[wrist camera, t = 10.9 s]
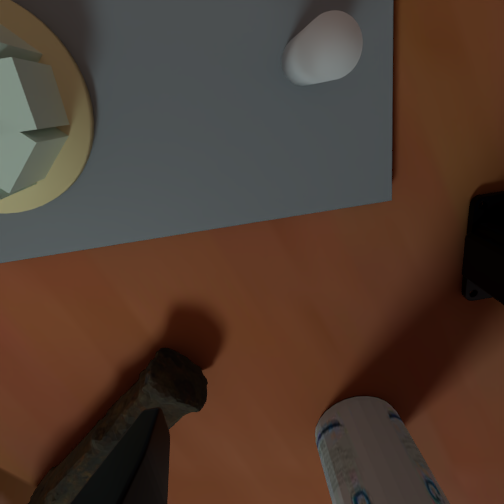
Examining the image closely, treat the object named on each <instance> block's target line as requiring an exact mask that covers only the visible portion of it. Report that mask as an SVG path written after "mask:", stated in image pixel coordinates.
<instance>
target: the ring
mask: <svg viewBox="0 0 504 504" xmlns="http://www.w3.org/2000/svg"><path fill="white" fill-rule="evenodd" d="M41 56H42V53H40V52H39V51H38V50H36V49H35V48H34V47H32V46H31V45H29V44H28V43H27V42H25V41H24V40H22V39H21V38H20V37H18V36H17V35H15V34H14V33H13V32H11V31H10V30H8V29H7V28H6V27H4V26H3V25H2V24H0V200H1V199H3V198H5V197H8V196H10V195H12V194H15V193H17V192H19V191H21V190H24V189H26V188H28V187H31V186H33V185H35V184H37V183H36V182H38V181H40V180H42V179H45V177H46V175H47V174H48V172H49V170H50V168H51V167H52V165H53V163H54V161H55V159H56V158H57V156H58V154H59V152H60V151H61V149H62V147H63V145H64V143H65V142H66V140H67V138H68V135H67V134H65V133H64V132H62V131H61V130H59V129H58V128H56V127H57V126H64V125H70V124H69V121H68V118H67V115H66V112H65V108H64V105H63V102H62V99H61V96H60V93H59V89H58V86H57V83H56V80H55V77H54V74H53V70H52V67H51V65H46V64H42V63H38V62H39V60H40V58H41Z"/></svg>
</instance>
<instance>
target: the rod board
mask: <svg viewBox="0 0 504 504" xmlns="http://www.w3.org/2000/svg"><path fill="white" fill-rule="evenodd" d="M0 24H2V25H3V26H4V27H6V28H7V29H8V30H10V31H11V32H13V33H14V34H15V35H17V36H18V37H20V38H21V39H22V40H24V41H25V42H27V43H28V44H29V45H31V46H32V47H34V48H35V49H36V50H38V51H39V52H40V53H42V56H41V58H40V60H39V62H38V63H42V64H46V65H51V67H52V70H53V74H54V77H55V80H56V83H57V86H58V89H59V93H60V96H61V99H62V102H63V105H64V108H65V112H66V115H67V118H68V121H69V124H70V125H64V126H57V127H56V128H58V129H59V130H61V131H62V132H64V133H65V134H67V135H68V138H67V140H66V142H65V143H64V145H63V147H62V149H61V151H60V152H59V154H58V156H57V158H56V159H55V161H54V163H53V165H52V167H51V168H50V170H49V172H48V174H47V175H46V177H45V179H42V180H40V181H38V182H36V183H37V184H35V185H33V186H31V187H28V188H26V189H24V190H21V191H19V192H17V193H15V194H12V195H10V196H8V197H5V198H3V199H1V200H0V263H4V262H10V261H16V260H22V259H29V258H35V257H41V256H47V255H54V254H60V253H66V252H72V251H79V250H85V249H91V248H97V247H104V246H110V245H116V244H122V243H128V242H135V241H141V240H147V239H153V238H160V237H166V236H172V235H178V234H185V233H191V232H197V231H203V230H210V229H216V228H222V227H228V226H234V225H241V224H247V223H253V222H259V221H266V220H272V219H278V218H284V217H291V216H297V215H303V214H309V213H316V212H322V211H328V210H334V209H341V208H347V207H353V206H359V205H365V204H372V203H378V202H384V201H390V200H392V101H393V0H0Z"/></svg>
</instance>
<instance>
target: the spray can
mask: <svg viewBox="0 0 504 504" xmlns="http://www.w3.org/2000/svg"><path fill="white" fill-rule="evenodd" d="M315 436H316V444H317V448H318V451H319V455H320V459H321V463H322V466H323V470H324V474H325V477H326V481H327V485H328V489H329V492H330V496H331V500H332V503H333V504H450V503H449V501H448V500H447V498H446V496H445V495H444V493H443V491H442V489H441V488H440V486H439V484H438V482H437V481H436V479H435V477H434V475H433V474H432V472H431V470H430V469H429V467H428V465H427V463H426V462H425V460H424V458H423V456H422V455H421V453H420V451H419V449H418V448H417V446H416V444H415V443H414V441H413V439H412V437H411V436H410V434H409V432H408V430H407V429H406V427H405V425H404V423H403V422H402V420H401V418H400V416H399V415H398V413H397V411H396V410H394V408H393V407H392V406H391V405H390V404H389V403H387V402H386V401H384V400H382V399H379V398H376V397H370V396H359V397H353V398H349V399H345V400H343V401H341V402H339V403H337V404H335V405H333V406H332V407H331V408H329V409H328V410H327V411H326V412H325V413H324V414H323V415H322V417H321V418H320V419H319V422H318V424H317V426H316V433H315Z"/></svg>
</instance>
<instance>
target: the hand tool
mask: <svg viewBox="0 0 504 504" xmlns="http://www.w3.org/2000/svg"><path fill="white" fill-rule="evenodd" d="M207 384H208V382H207V379H206V378H205V376H204V375H203V373H202V370H201V368H200V367H199V366H197V365H195V364H194V363H193V362H191V361H190V360H189V359H188V358H187V357H185V356H183V355H182V354H180V353H178V352H176V351H174V350H171V349H169V348H161V349H160V350H159V351H158V352H156V355H155V359H153V360H151V361H150V363H149V365H148V366H147V368H146V369H145V370H143V371H142V372H141V373H140V377H139V380H138V381H137V382H136V383H135V384H134V385H133V386H132V387H131V388H130V389H129V390H128V391H127V392H126V393H125V394H124V395H122V396H121V397H120V399H119V400H118V401H117V402H116V403H114V405H113V406H112V407H111V408H110V410H109V411H108V412H107V413H106V414H107V415H106V416H105V417H104V418H103V419H102V420H99V421H98V423H97V424H96V426H94V428H93V429H92V430H91V431H90V432H89V433H88V434H87V436H86V437H85V438H84V439H83V440H82V441H81V442H80V443H79V444H78V445H77V446H76V447H75V448H74V450H73V451H72V452H71V453H70V454H69V455H68V456H67V457H66V458H65V459H64V460H63V461H62V462H61V463H60V464H59V465H58V466H57V467H52V468H51V470H50V471H49V472H48V473H47V474H46V476H45V477H44V478H43V480H42V481H41V482H40V484H39V485H38V487H37V488H36V489H35V491H34V493H33V495H32V496H31V500H30V502H29V503H28V504H70V503H71V502H72V500H73V499H74V498H75V497H76V495H77V494H78V493H79V491H80V490H81V489H82V488H83V486H84V485H85V484H86V482H87V481H88V480H89V479H90V477H91V476H92V475H93V473H94V472H95V471H96V470H97V468H98V467H99V466H100V465H101V463H102V462H103V461H104V459H105V458H106V457H107V456H108V454H109V453H110V452H111V450H112V449H113V448H114V447H115V445H116V444H117V443H118V441H119V440H120V439H121V438H122V436H123V435H124V434H125V432H126V431H127V430H128V429H129V427H130V426H131V425H132V424H133V422H134V421H135V420H136V418H137V417H138V416H139V415H140V413H141V412H142V411H143V410H145V409H150V408H155V407H160V408H161V409H162V411H163V414H164V417H165V420H166V423H167V426H168V430H169V429H170V428H171V427H172V426H173V425H175V423H176V422H177V421H178V420H179V419H180V418H181V417H182V416H184V415H186V414H188V413H190V412H198V411H200V410H201V409H202V408H203V406H204V404H205V402H206V399H207Z"/></svg>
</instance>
